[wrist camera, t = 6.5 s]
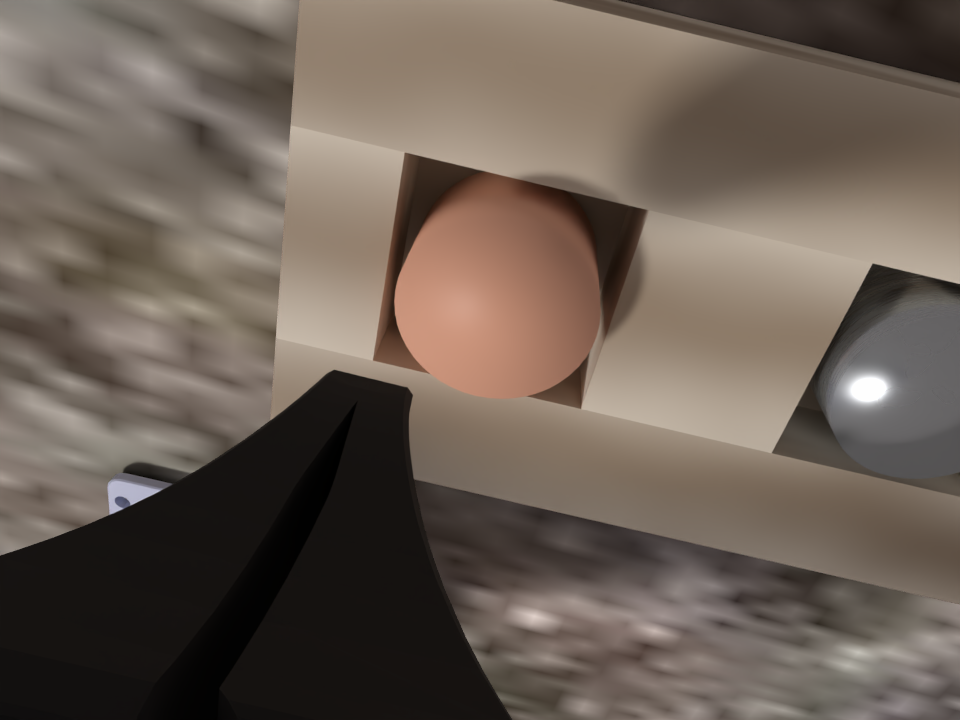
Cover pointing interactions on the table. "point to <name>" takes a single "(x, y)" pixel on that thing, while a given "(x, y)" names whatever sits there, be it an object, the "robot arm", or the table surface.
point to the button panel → (633, 260)
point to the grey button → (896, 376)
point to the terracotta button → (500, 288)
